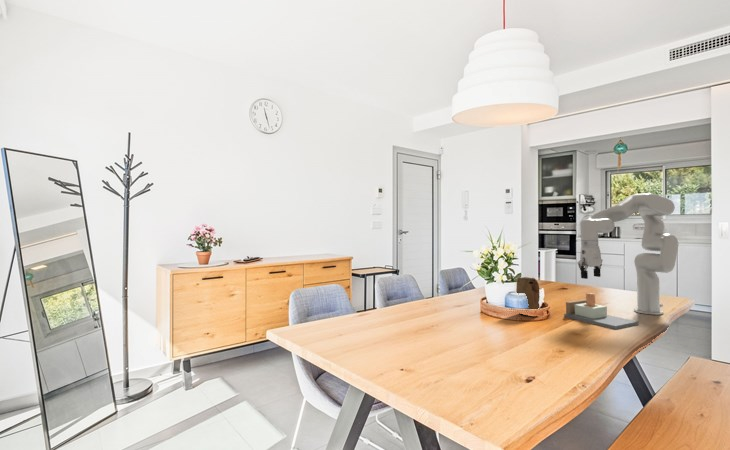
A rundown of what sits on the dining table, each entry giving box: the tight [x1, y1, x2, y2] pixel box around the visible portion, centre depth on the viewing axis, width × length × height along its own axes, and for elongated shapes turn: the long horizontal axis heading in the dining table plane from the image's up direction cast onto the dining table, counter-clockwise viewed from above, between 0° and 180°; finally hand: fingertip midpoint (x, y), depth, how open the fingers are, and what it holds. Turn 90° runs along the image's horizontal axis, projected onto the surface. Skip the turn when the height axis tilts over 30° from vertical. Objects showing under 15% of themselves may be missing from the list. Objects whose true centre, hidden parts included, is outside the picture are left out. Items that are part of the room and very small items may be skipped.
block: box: [516, 276, 541, 309], centre depth 199 cm, size 11×8×20 cm
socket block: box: [575, 303, 608, 319], centre depth 190 cm, size 10×10×5 cm
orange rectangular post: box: [585, 292, 596, 307], centre depth 190 cm, size 4×4×10 cm
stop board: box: [563, 299, 639, 330], centre depth 186 cm, size 17×26×8 cm, turn 24°
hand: (590, 277), depth 190 cm, fingers open, 9 cm apart
